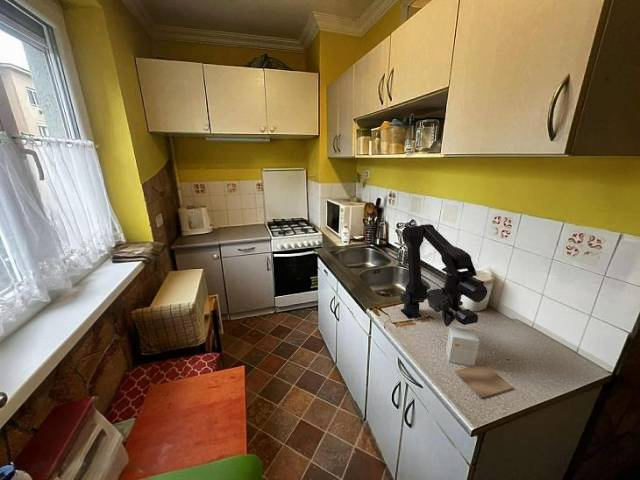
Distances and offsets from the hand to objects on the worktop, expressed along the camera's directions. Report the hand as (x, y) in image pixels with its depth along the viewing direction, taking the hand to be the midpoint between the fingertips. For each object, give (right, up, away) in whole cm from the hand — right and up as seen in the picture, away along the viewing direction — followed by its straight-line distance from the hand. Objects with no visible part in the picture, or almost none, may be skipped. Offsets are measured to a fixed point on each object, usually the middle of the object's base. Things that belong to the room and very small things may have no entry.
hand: (446, 325), depth 93 cm
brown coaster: (+5, -13, -13) cm, 19 cm away
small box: (+2, -10, -4) cm, 11 cm away
